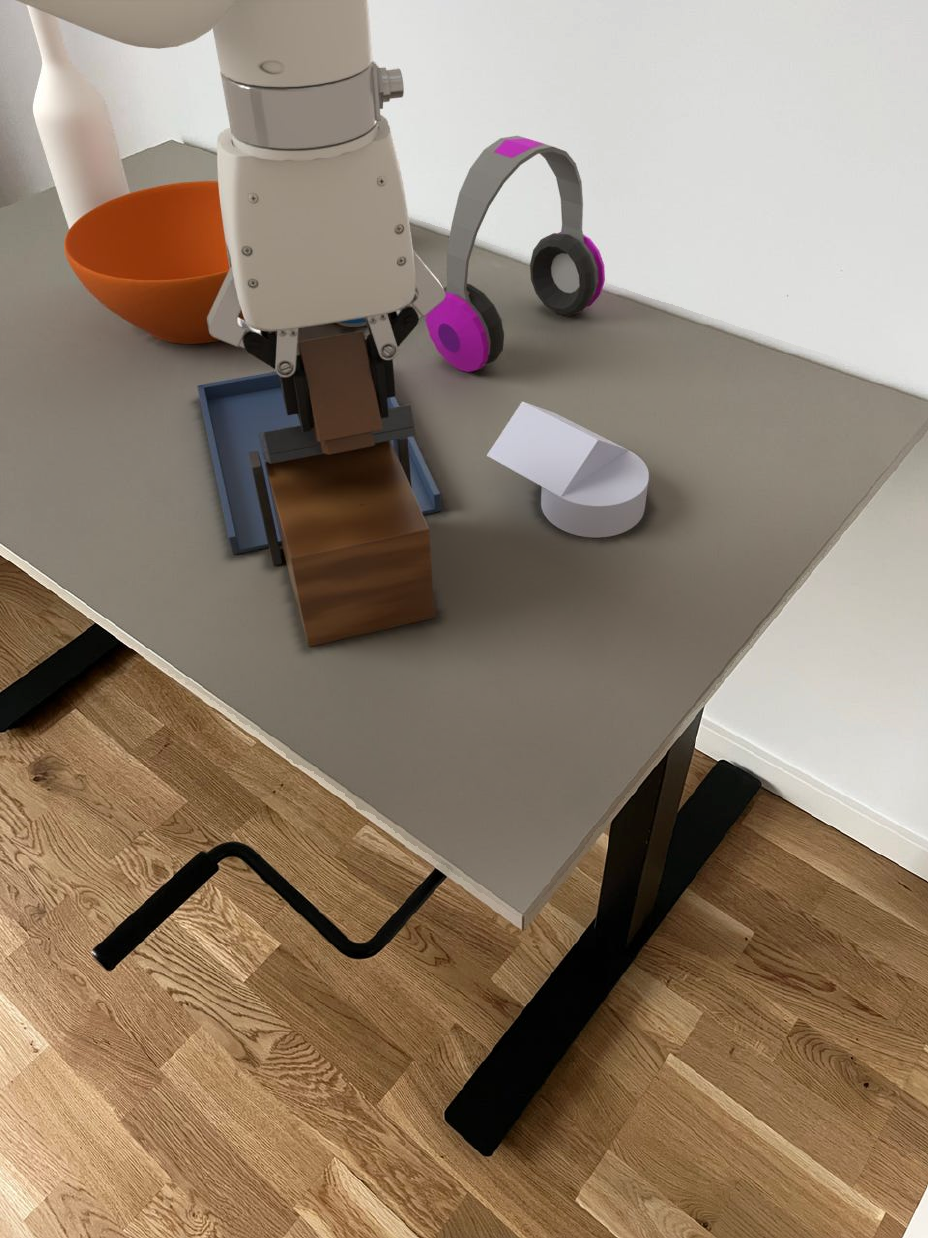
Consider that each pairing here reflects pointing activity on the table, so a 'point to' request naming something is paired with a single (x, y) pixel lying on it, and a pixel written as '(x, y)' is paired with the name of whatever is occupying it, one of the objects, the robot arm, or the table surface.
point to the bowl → (155, 258)
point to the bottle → (74, 127)
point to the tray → (234, 432)
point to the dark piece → (337, 404)
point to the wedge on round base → (574, 472)
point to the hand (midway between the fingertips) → (341, 410)
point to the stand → (349, 539)
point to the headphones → (558, 263)
